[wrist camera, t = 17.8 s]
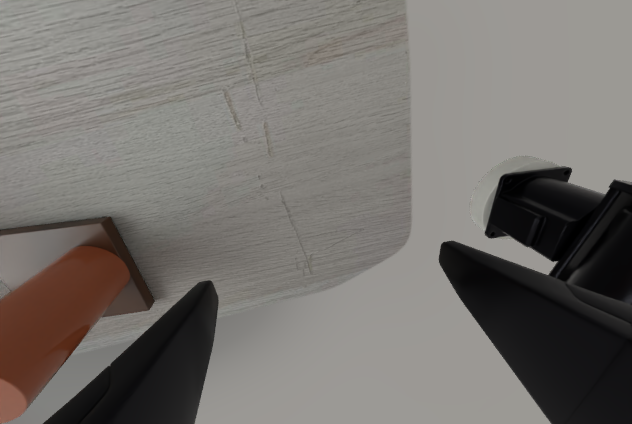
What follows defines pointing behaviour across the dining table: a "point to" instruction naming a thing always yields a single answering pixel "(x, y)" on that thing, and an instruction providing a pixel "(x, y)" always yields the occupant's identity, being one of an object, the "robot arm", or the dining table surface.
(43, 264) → the plate
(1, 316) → the orange cylinder
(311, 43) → the dining table surface
